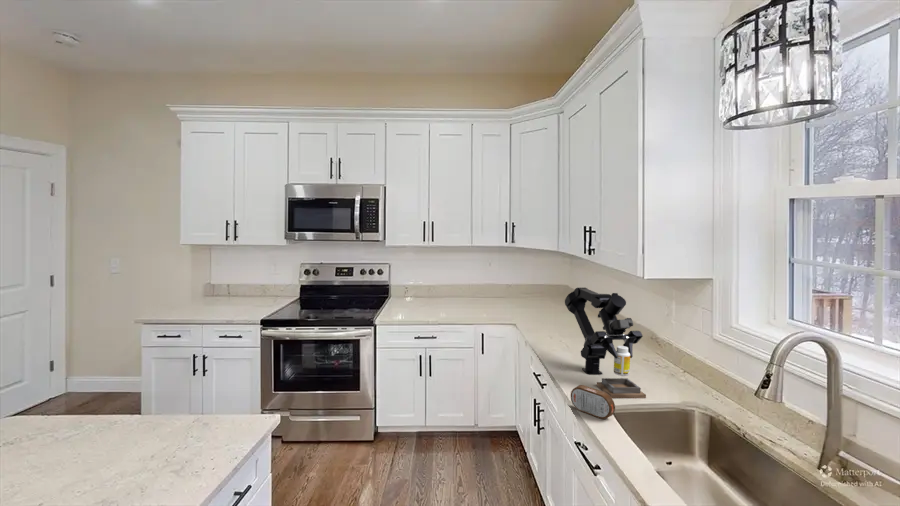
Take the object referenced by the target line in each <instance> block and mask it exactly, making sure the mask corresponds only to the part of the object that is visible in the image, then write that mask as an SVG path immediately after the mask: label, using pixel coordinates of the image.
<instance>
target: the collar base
mask: <svg viewBox="0 0 900 506" xmlns="http://www.w3.org/2000/svg"><path fill="white" fill-rule="evenodd" d="M595 386H597V387H598V388H599V389H600V391H602V392H605V393H607V394H608V395H609V396H610V397H611V398H612V399H647V394H646V393H644V392H643V391H642V390H641V389H642V388H641V387H640V386H639V385H637V384H636V383H634V382H633V381H632V380H631V379H629V378H625V377H623V378H620V377H618V378H617V377H616V378H615V377H613V378H612V377H610V378H609V377H607V378H606V377H605V378H601V381H597V382H596V385H595Z"/></svg>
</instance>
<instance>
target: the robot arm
mask: <svg viewBox="0 0 900 506" xmlns="http://www.w3.org/2000/svg"><path fill="white" fill-rule="evenodd" d="M587 302H590V303H591V304H590V305H591V306H592V307H593V308H594V309H600V310H599V311H598V314H597V318H599V319H600V320H601V323H602V325H603V326H602V331H601V330H599V331H597V330H596V331H595V329H594V327H593V326H592V323H591V321H590V319H589V317H588V315H587V313H586V311H585V308H586V304H587ZM564 305H565V306H566V308H567V310H568V311H569V312H570V313H571V314H573V315H574V318H575V320H576V322H577V324H578V327H579V329H580V332H581V334H582V335H583V338H584V342H583V343H584V344H583V348H582V349H581V350H580V357H581V358H583V359H585V365H584V367H583V368H582V367H581V368H582V371H583V372H585V373H586V374H587V375H603V372H602V371H601V370H600V364H601V363H600V362H601V360H604V359H605V358H606V355H607V352H608V353H609V354H610V355H612V357H613V358H614V357H615V358H616V359H617V358H618V356H617V353H616V351H617V349H616V348H615V345H614V342H613V341H614V340H615V341H618V340H619V341H623V342H624V343H623V344H622V346H625V347H628V352H629V353H630V359H632V358H633V353H634V352H633V345H636V344H638V342H640V340H641V339H642V338H643V337H644V336H643V334H642V333H643V332H642V331H641V330H629V332H628V333H627V334H624V333H626V331H627V329H631V328H632V327H634V321H633V320H632V318H631V317H627V318H624V319H618V317H617V315H619V314H620V313H621V312H622V311H623V309H624V308H625V306H626V305H627V300H626V299H625V298H624V297H623V296H621V295H619V293H618V292H612V293H611V294H609V293H598V292H595V291H593V290H591V289H588V287H576V288H575V289H574V290H573V291H571V292H569V293H568V294H567V296H566V297H565V299H564Z"/></svg>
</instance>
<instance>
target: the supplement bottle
mask: <svg viewBox="0 0 900 506" xmlns="http://www.w3.org/2000/svg"><path fill="white" fill-rule="evenodd" d="M616 353H617V356H618V358H617V359H616V358H615V357H614V356H613V373H614V374H615V375H616V376H621V377H627V376H629V375H630V371H631V369H630V367H631V358H630V353H629V352H628V347H625V346H623V345H617V346H616Z"/></svg>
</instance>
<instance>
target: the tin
mask: <svg viewBox="0 0 900 506" xmlns="http://www.w3.org/2000/svg"><path fill="white" fill-rule="evenodd" d="M570 401H571V403H572V405H573V407H574V408H575V409H576V410H578V411H580V412H582V413H584V414H588V415H590V416H593V417H595V418H597V417H598V419H602V420H604V419H608V418H609V417H612V416H613V415H614V414H615V412H616V405H615V401H614V398H611V397H610V396H609V395H608V394H607V393H605V392H603V391H602V390H599V389H597V388H592V387H590V386H587V385H584V384H579V385H577V386H576V387H574V388H573V389H572V390H571V391H570Z"/></svg>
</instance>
